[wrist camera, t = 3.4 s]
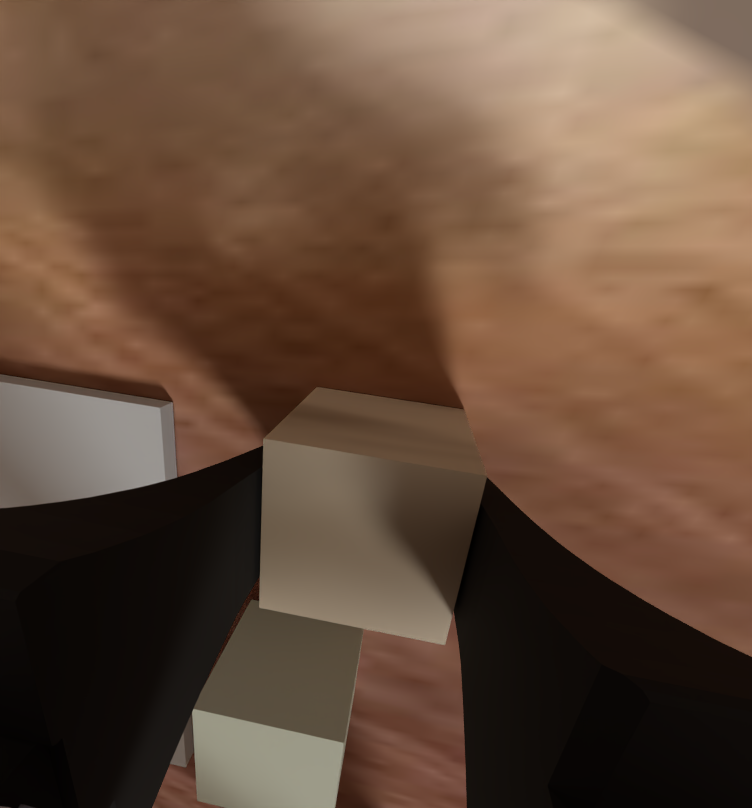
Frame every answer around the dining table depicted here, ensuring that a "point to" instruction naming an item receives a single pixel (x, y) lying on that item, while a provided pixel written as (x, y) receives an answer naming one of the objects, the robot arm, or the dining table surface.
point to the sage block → (276, 713)
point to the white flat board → (82, 451)
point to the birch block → (369, 512)
